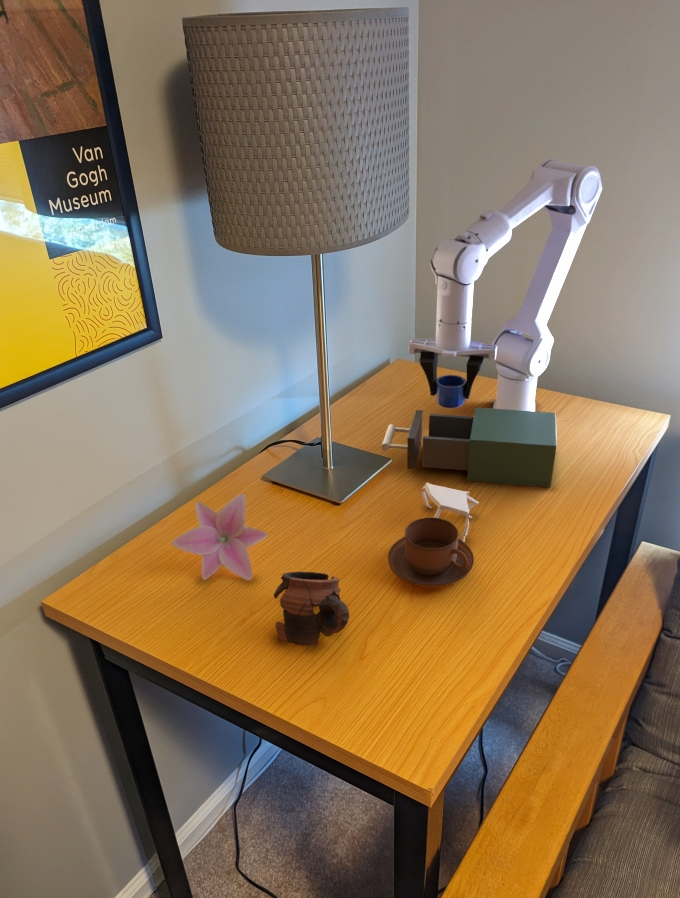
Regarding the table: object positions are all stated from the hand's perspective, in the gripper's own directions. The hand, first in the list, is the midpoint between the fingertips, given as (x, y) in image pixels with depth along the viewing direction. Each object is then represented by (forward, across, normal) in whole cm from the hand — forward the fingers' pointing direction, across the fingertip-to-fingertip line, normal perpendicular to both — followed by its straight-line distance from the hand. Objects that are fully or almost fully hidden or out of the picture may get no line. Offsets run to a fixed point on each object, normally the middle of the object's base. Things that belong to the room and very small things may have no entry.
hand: (450, 394), depth 129 cm
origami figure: (+10, +4, -24) cm, 26 cm away
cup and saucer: (+10, +4, -36) cm, 38 cm away
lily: (+10, -25, -42) cm, 50 cm away
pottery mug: (+10, -9, -51) cm, 53 cm away
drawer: (+9, -1, -7) cm, 11 cm away
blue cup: (+1, 0, 0) cm, 1 cm away
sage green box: (+9, +12, -6) cm, 16 cm away
